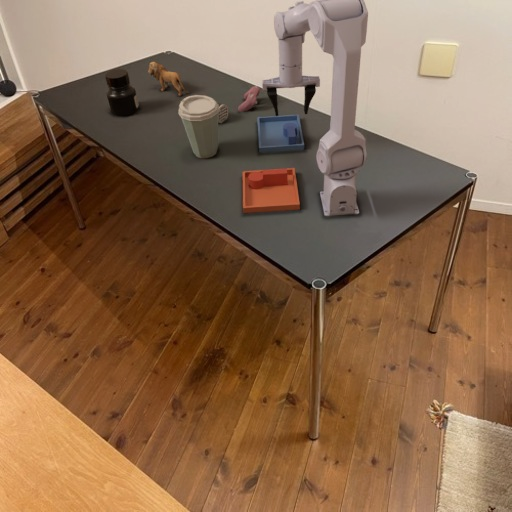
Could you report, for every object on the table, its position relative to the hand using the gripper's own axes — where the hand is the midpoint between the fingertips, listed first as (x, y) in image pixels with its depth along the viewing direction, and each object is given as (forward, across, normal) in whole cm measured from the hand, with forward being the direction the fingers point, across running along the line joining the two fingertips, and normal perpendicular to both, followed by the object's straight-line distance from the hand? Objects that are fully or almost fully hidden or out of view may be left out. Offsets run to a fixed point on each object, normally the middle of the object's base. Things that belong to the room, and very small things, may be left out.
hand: (291, 113), depth 134 cm
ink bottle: (+10, +51, -28) cm, 59 cm away
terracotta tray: (+9, +7, +22) cm, 25 cm away
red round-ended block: (+9, +7, +19) cm, 22 cm away
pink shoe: (+10, +11, -24) cm, 29 cm away
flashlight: (+10, +25, -19) cm, 33 cm away
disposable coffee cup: (+10, +24, +2) cm, 26 cm away
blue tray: (+9, +3, -4) cm, 11 cm away
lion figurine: (+10, +38, -40) cm, 56 cm away
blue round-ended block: (+9, 0, -2) cm, 9 cm away
